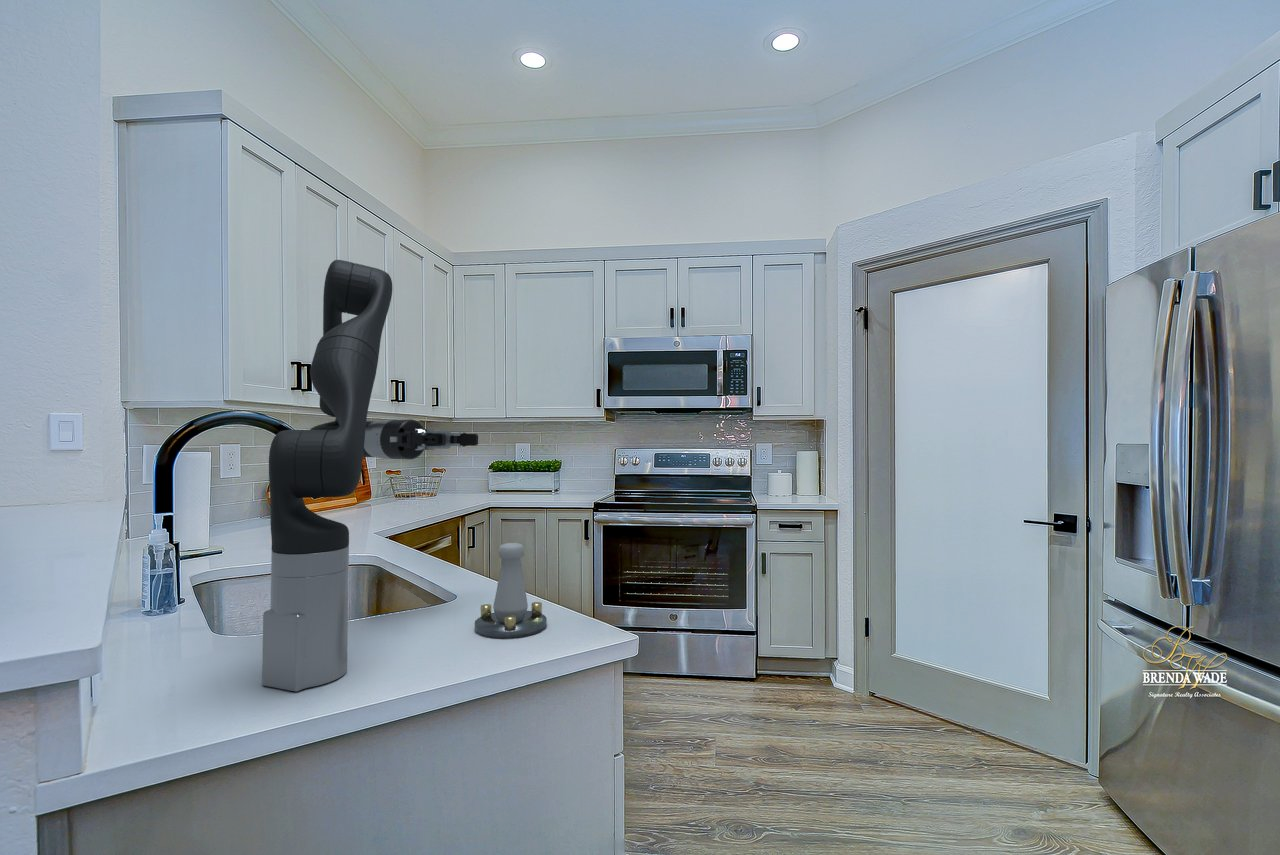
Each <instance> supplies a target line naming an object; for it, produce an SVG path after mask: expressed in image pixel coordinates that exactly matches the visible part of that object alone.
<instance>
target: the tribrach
mask: <svg viewBox="0 0 1280 855" xmlns="http://www.w3.org/2000/svg"><path fill="white" fill-rule="evenodd" d="M547 621H548V620H547V617H546V615H545V614H543V603H542V602H540V601H535V602H532V603H531V609H530V610H527V611H526V614H525V616H524V619H523V620H522V621H520V622H518V623H516V616H514V615H509V616H505V623H501V622H498V620H497V617H496V615H495V612H494V611H493V612H492V604H490V603H487V604H486V603H484V604H481V605H480V616H479V617H478V618H477V619H475V621H474V632H475V634H477V635H479V636H481V637H483V638H489V639H495V640H497V639H498V640H509V639H510V640H511V639H521V638H526V637H530V636H534V635H537V634H539V633H542V632H543V631H544V630H545V629H547V626H548V625H547Z"/></svg>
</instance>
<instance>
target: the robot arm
mask: <svg viewBox="0 0 1280 855" xmlns="http://www.w3.org/2000/svg"><path fill="white" fill-rule="evenodd" d="M322 296H323V298H322V300H323V301H322V302H323V306H322V312H323V313H322V317H323V318H322V336H321V337H320V339H319V340H318V343H317V345H316V347H315V351H314V354H313V358H312V362H311V365H310V369H309V372H310V373H309V375H310V380H311V382H312V383H311V384H312V385H313V388H314V389H315V391H316V392H317V394H318V395H319V408H320V411H321V412H322V413H324V414H325V415H327V416H329V417H332V418H333V417H334V418H335V420H332V421H329V422H324V423H321V424H318V425H315V426H313V427H311V428H310V429H285V430H284V429H283V430H280V431H278V432H277V433H276V434H275V435H274V437H273V439H272V441H271V444H270V448H269V453H268V454H269V455H268V480H269V500H270V503H269V504H270V534H271V535H270V536H271V559H270V560H271V562H270V563H271V564H270V566H271V567H270V609H267V610H265V611H264V612H263V615H262V653H261V654H262V662H261V663H262V664H261V666H262V667H261V679H262V680H261V686H265V687H270V688H277V689H281V690H285V691H292V692H300V691H302V690H304V689H307V688H313V687H318V686H321V685H325V684H328V683H331V682H333V681H335V680H338V679H339V678H342V677H343V676H345V674H346V673H347V671H348V640H349V638H348V635H349V634H348V630H349V628H348V624H349V569H350V568H349V566H350V564H349V563H350V562H349V561H350V560H349V558H350V556H349V555H350V554H349V553H350V545H349V544H350V531H349V528H348V526H347V525H346V524H344V523H342V522H340V521H336V520H334V519H329V518H326V517H323V516H321V515H319V514H317V513H315V512H314V511H312V510H310V508H308V507H307V506H306V504H305V501H304V499H308V498H309V499H311V498H313V499H314V498H318V499H319V498H321V499H322V498H341V497H346V496H350V495H352V494H353V493H354V492H355V490H356V489H357V487H358V485H359V484H360V481H361V480H360V479H361V476H362V470H363V469H362V468H363V461H364V458H378V459H383V460H384V459H385V460H414V459H417V458H419V456H421V455H422V454H423V452H424V450H425V451H433V450H435V449H437V450H438V449H440V450H441V449H442V450H443V449H445V450H447V449H450V448H451V447H459V448H465V447H468V446H471V447H472V446H473V447H475V446H479V435H478V433H466V432H458V433H457V432H456V433H455V432H451V431H450V430H436V429H433V428H425V427H424V426H423V425H422V423H421V422H419V421H418V420H415V419H382V420H375V421H373V420H371V421H370V420H367V419H368V412H369V406H370V401H371V397H372V392H373V388H374V383H375V379H376V376H377V370H378V364H379V358H380V356H379V355H380V349H381V348H380V347H381V340H382V334H383V330H384V326H385V323H386V319H387V316H388V314H389V313H388V312H389V309H390V306H391V302H392V296H393V281H392V278H391V276H390V274H389V273H388V272H386V271H384V270H383V269H380V268H377V267H373V266H369V265H364V264H360V263H355V262H351V261H347V260H342V259H334V260H333V261H332V262H331V263H330V264H329V266H328V267H327V271H326V275H325V278H324V286H323V295H322ZM343 313H344V314H348V315H351V316H352V315H353V316H355V317H352V318H350V319H348V320H346V321H344V322H343Z"/></svg>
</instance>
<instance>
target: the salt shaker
mask: <svg viewBox="0 0 1280 855" xmlns="http://www.w3.org/2000/svg"><path fill="white" fill-rule="evenodd" d="M524 556H525V549H524V545H523V544H521V543H519V542H506V543H503V544H501V545H500V546H499V547H498V557H499V559H502V560H501V564H500V570H499V575H498V580H497V586H496V591H495V596H494V601H493V613H494V612H495V615H496V617H497V620H498V622H501V623H505V616H509V615H514V616H516V623H518V622H520V621H522V620H523V619H524V616H525V614H526V611H528V608H529V605H528V604H529V603H528V598H527V592H526V585H525V580H524V573H523V567H522V565H523V564H522V560H521V558H524Z"/></svg>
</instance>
